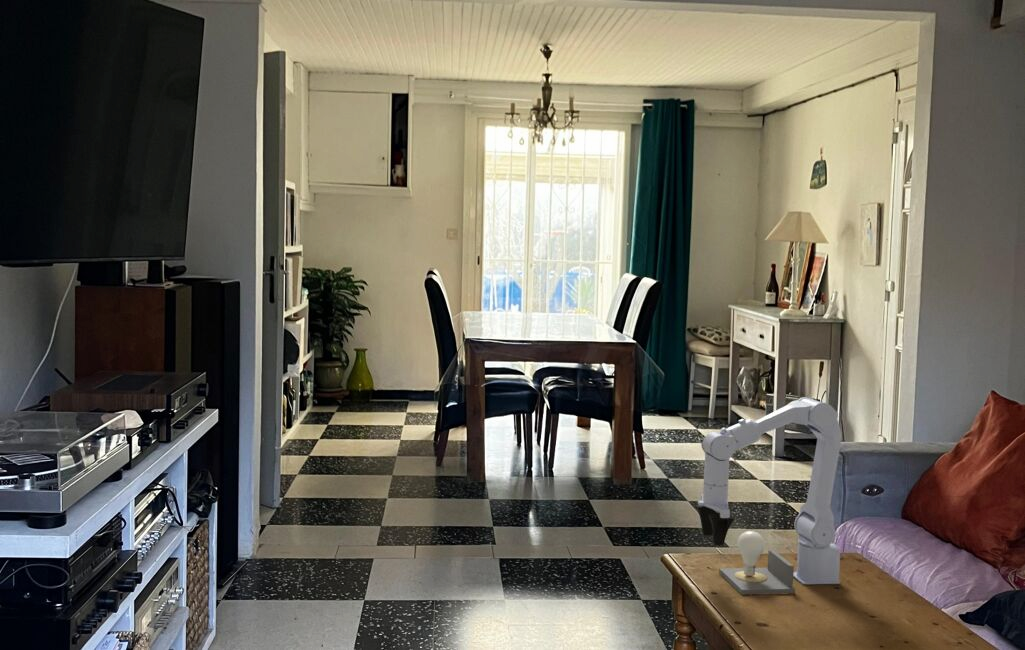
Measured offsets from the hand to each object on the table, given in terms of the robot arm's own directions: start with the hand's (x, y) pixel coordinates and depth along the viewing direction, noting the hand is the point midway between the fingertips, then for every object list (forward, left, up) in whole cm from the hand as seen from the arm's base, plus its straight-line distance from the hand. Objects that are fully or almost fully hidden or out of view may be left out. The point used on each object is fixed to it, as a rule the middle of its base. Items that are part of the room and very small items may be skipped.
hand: (713, 539), depth 233 cm
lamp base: (-11, +1, -10) cm, 15 cm away
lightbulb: (-9, 0, -9) cm, 13 cm away
